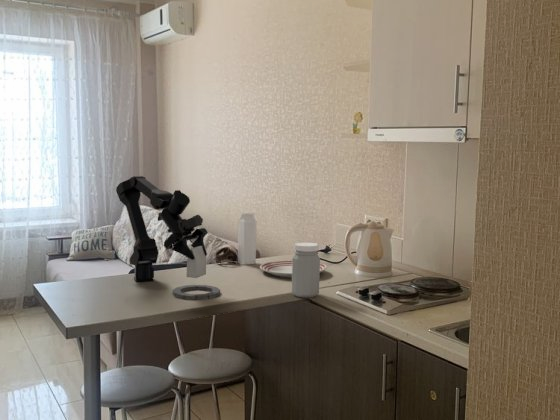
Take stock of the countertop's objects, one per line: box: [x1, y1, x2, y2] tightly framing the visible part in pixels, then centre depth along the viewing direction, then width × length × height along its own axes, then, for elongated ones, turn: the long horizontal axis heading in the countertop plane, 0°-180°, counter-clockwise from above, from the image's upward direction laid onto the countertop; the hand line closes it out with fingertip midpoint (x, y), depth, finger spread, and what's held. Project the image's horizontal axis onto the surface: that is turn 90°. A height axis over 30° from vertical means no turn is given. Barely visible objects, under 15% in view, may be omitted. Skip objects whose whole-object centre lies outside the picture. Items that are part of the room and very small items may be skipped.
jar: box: [291, 241, 321, 299], centre depth 210 cm, size 10×10×18 cm
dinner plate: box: [259, 259, 328, 279], centre depth 246 cm, size 28×27×3 cm
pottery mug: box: [214, 246, 240, 265], centre depth 263 cm, size 12×10×8 cm
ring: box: [172, 284, 221, 301], centre depth 208 cm, size 16×16×1 cm
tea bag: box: [186, 246, 207, 279], centre depth 207 cm, size 4×7×10 cm, turn 157°
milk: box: [237, 212, 257, 266], centre depth 262 cm, size 6×6×22 cm
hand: (200, 257), depth 206 cm, fingers closed on tea bag, 7 cm apart
